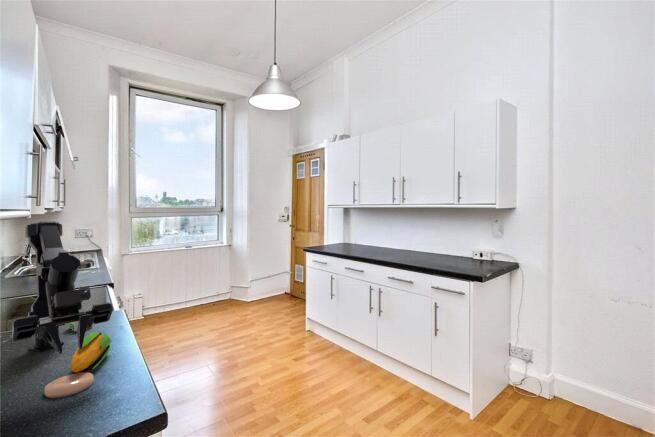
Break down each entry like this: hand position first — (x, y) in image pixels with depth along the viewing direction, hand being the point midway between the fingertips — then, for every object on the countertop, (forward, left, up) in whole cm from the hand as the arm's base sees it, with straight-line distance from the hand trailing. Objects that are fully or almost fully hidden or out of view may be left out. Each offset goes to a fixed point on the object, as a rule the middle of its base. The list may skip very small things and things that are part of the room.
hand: (71, 350), depth 73 cm
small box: (-42, +29, -9) cm, 52 cm away
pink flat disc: (-1, +1, -9) cm, 9 cm away
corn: (-9, +10, -9) cm, 16 cm away
